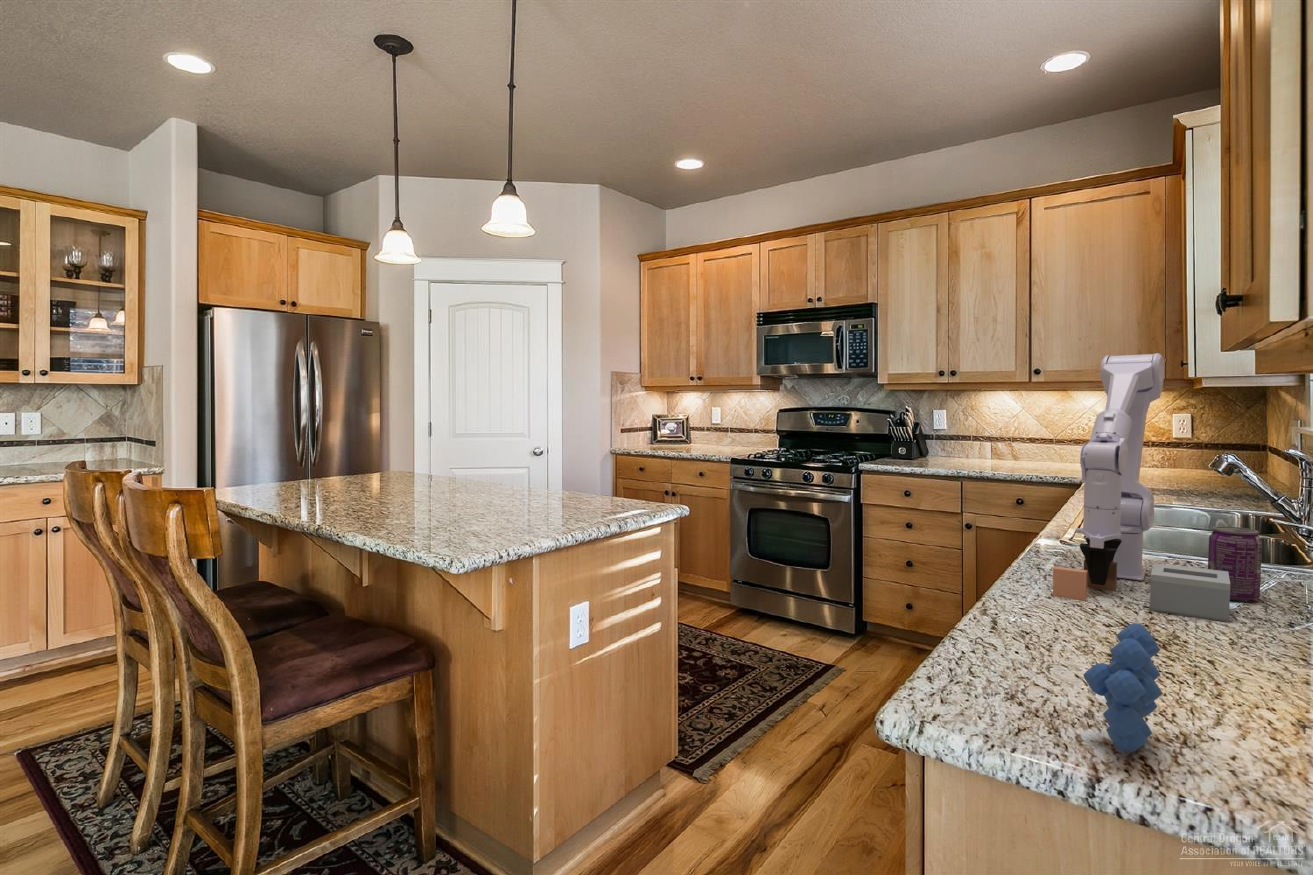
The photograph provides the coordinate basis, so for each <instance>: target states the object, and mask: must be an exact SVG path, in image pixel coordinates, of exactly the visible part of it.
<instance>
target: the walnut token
mask: <svg viewBox="0 0 1313 875" xmlns="http://www.w3.org/2000/svg"><path fill="white" fill-rule="evenodd" d="M1083 570H1088V567H1087V563H1086V560H1085V559H1084V560H1083ZM1117 579H1118V578H1117V563H1116V562H1111V563H1110V566H1109V571H1108V576H1107V580H1106V583H1105V585H1096V584H1091V582H1090V578H1089V573H1088V586H1087V589H1093V590H1101V591H1106V590H1108V591H1107V592H1113V591H1114V593H1115V592H1116V591H1117V586H1118V580H1117Z"/></svg>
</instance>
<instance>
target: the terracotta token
mask: <svg viewBox="0 0 1313 875" xmlns="http://www.w3.org/2000/svg"><path fill="white" fill-rule="evenodd" d="M1052 569H1053V570H1052V597H1055V598H1062V597H1063V598H1062V599H1069V600H1076V601H1082V602H1083V601H1084V602H1086V601H1087V599H1088V588H1087V586H1088V570H1084V569H1079V568H1072V567H1065V566H1055V565H1054V567H1053V568H1052Z"/></svg>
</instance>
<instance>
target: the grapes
mask: <svg viewBox="0 0 1313 875" xmlns="http://www.w3.org/2000/svg"><path fill="white" fill-rule="evenodd" d="M1116 638H1117V639H1118V643H1117V644H1116V645H1114V646H1113V647H1112V648H1111V649H1110V650H1109V652H1110V655H1111V656H1112V657H1111V658H1110V659H1109V660H1110V661H1111V662H1110V663H1109V664H1106V663H1105V662H1099V663H1096V664H1095V665H1092V666H1091V667H1090V668H1089V669H1087V670H1086V671H1085V672H1084V673H1083V674H1082V675H1083V678H1084V680H1085V681H1086V683H1087V685H1088V687H1089V688H1090V690H1092V692H1093V693H1094V694H1097V695H1098V696H1101V697H1104V699H1105V701H1106V702H1105V705H1106V706H1107V707H1108V708H1107V709H1106V710H1105V711H1104V712H1103V713H1102V715H1103V716H1104V717H1103V718H1104V719H1105V721H1106V723H1107V724H1108V727H1107V728H1106V729H1105V730H1106V733H1107V735H1108V736H1109V738H1110V740H1111V741H1112V744H1114V746H1115V747H1116V749H1117V750H1119V751H1120V752H1122V753H1125V754H1130V753H1134V752H1136V751H1138V750H1139V749H1140V748H1141V747H1142V746H1144V744H1146V743H1147V742H1148V740H1147V739H1148V738H1149V737H1151V736H1152V734H1153V732H1152V730H1151V729H1150V726H1149V725H1148V723H1147V722H1146V720H1145V719H1144V718H1146V717H1148V716H1149V715H1150V714H1151V713H1152V712H1154V711H1155V710H1157V708H1158V706H1157V704H1156V702H1155V701H1156V700H1157V699H1159V698H1160V697H1161V696H1162V695H1163V692H1162V690H1161V688H1160V687H1159V685H1158V684H1157V683H1156V680H1157V679H1158V678H1159V677H1160V676H1161V673H1160V672H1159V670H1158V668H1157V666H1156V665H1155V663H1153V661H1152V658H1153V657H1154V656H1156V655H1157V654H1158V653H1159V652H1161V649H1160V647H1159V645H1158V643H1157V641H1156V640H1155V639H1154V637H1153V636H1152V634H1151V633H1150V631H1149V630H1148V629H1147V627H1146V626H1144V625H1142V624H1141V623H1138V622H1136V623H1135V622H1134V623H1130V624H1128V625H1127V626H1126V627H1124V628H1123V629H1122V630H1121V631H1119V633H1117V634H1116Z"/></svg>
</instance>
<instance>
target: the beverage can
mask: <svg viewBox="0 0 1313 875" xmlns="http://www.w3.org/2000/svg"><path fill="white" fill-rule="evenodd" d="M1259 534H1260V531H1258V530H1256V529H1253V528H1247V527H1246V528H1245V527H1238V526H1226V525H1223V526H1221V525H1220V526H1213V527H1212V532H1211V534H1209V537H1208V552H1207V553H1208V555H1207V556H1208V557H1207V569H1211V570H1219V571H1228V573H1229V579H1230V601H1235V602H1251V601H1253V600H1257V599H1260V598H1261V582H1262V581H1261V579H1262V578H1261V577H1262V576H1261V574H1262V552H1263V551H1262V550H1263V542H1262V540H1261V538H1260V536H1259Z"/></svg>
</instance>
